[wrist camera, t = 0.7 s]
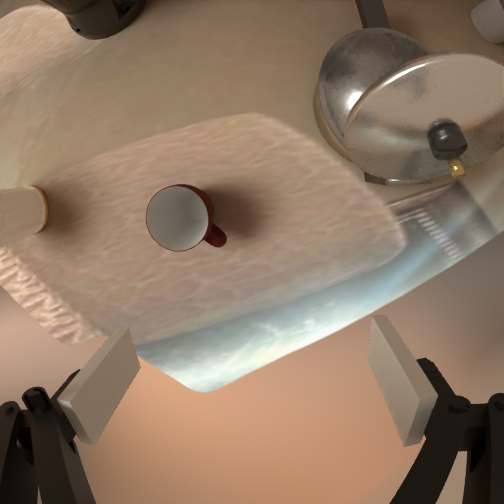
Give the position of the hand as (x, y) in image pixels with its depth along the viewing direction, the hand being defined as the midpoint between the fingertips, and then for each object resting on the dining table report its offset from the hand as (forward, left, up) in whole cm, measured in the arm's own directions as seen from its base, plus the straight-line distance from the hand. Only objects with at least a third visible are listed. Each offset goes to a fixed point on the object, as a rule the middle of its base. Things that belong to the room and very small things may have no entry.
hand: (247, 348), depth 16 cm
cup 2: (-37, +48, -32) cm, 68 cm away
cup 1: (-10, -43, -32) cm, 54 cm away
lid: (-12, +18, -13) cm, 25 cm away
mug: (-4, -9, -32) cm, 33 cm away
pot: (-20, +18, -32) cm, 41 cm away
